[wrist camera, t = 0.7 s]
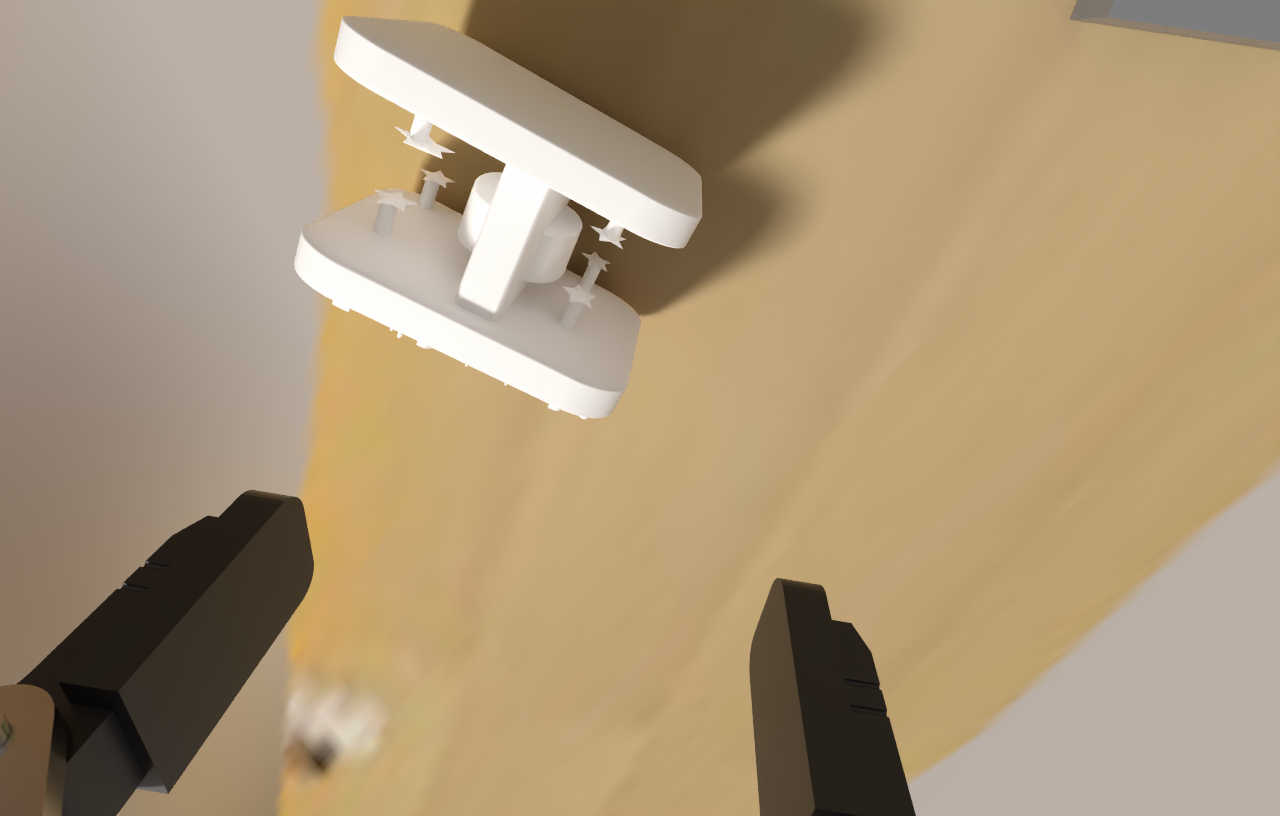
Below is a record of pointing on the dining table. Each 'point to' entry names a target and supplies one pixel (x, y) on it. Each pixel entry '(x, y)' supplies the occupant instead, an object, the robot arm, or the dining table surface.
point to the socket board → (1191, 18)
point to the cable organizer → (499, 219)
